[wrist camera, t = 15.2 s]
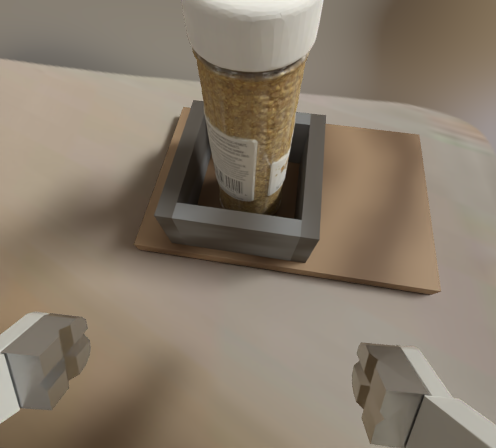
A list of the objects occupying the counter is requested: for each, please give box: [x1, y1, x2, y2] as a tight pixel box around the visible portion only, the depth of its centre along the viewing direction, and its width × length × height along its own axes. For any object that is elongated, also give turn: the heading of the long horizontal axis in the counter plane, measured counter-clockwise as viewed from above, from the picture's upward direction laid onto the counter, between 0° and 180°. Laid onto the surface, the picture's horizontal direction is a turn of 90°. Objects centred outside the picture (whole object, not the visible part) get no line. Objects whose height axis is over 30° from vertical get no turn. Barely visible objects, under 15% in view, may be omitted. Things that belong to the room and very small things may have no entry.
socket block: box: [134, 100, 441, 295], centre depth 20 cm, size 20×13×5 cm, turn 81°
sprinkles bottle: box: [181, 0, 323, 216], centre depth 14 cm, size 5×5×14 cm
